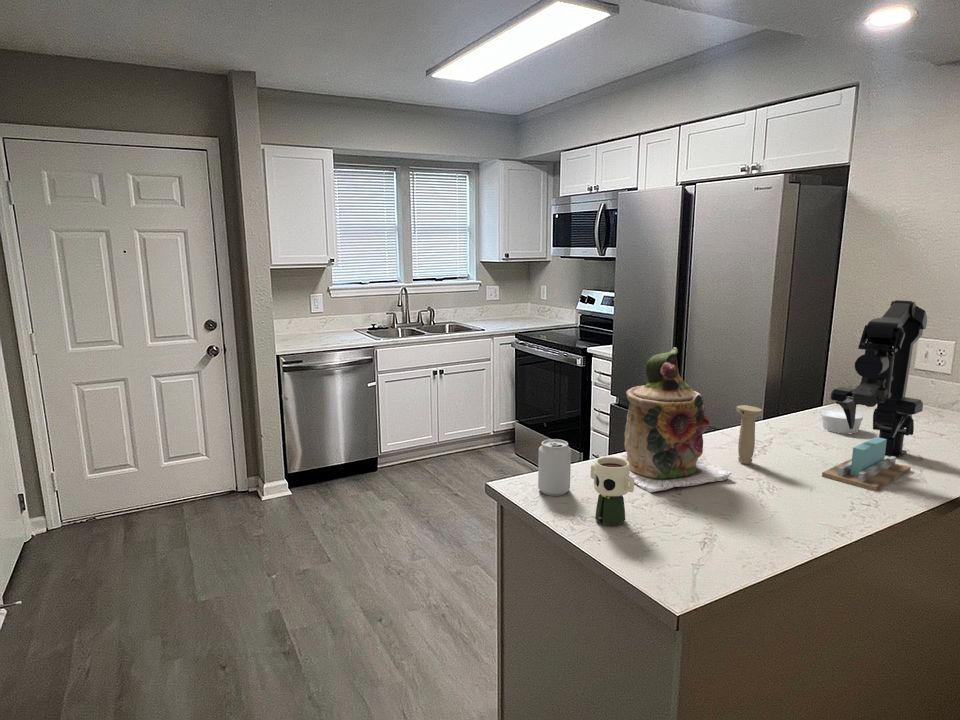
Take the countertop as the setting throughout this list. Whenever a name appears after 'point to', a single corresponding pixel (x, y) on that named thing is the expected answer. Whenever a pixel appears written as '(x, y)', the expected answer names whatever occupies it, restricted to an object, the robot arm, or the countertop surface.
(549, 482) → the can
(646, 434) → the cookie jar
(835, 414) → the ramekin
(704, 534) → the countertop surface
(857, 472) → the door panel
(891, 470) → the track
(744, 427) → the handle
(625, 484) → the character mug
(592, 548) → the countertop surface
